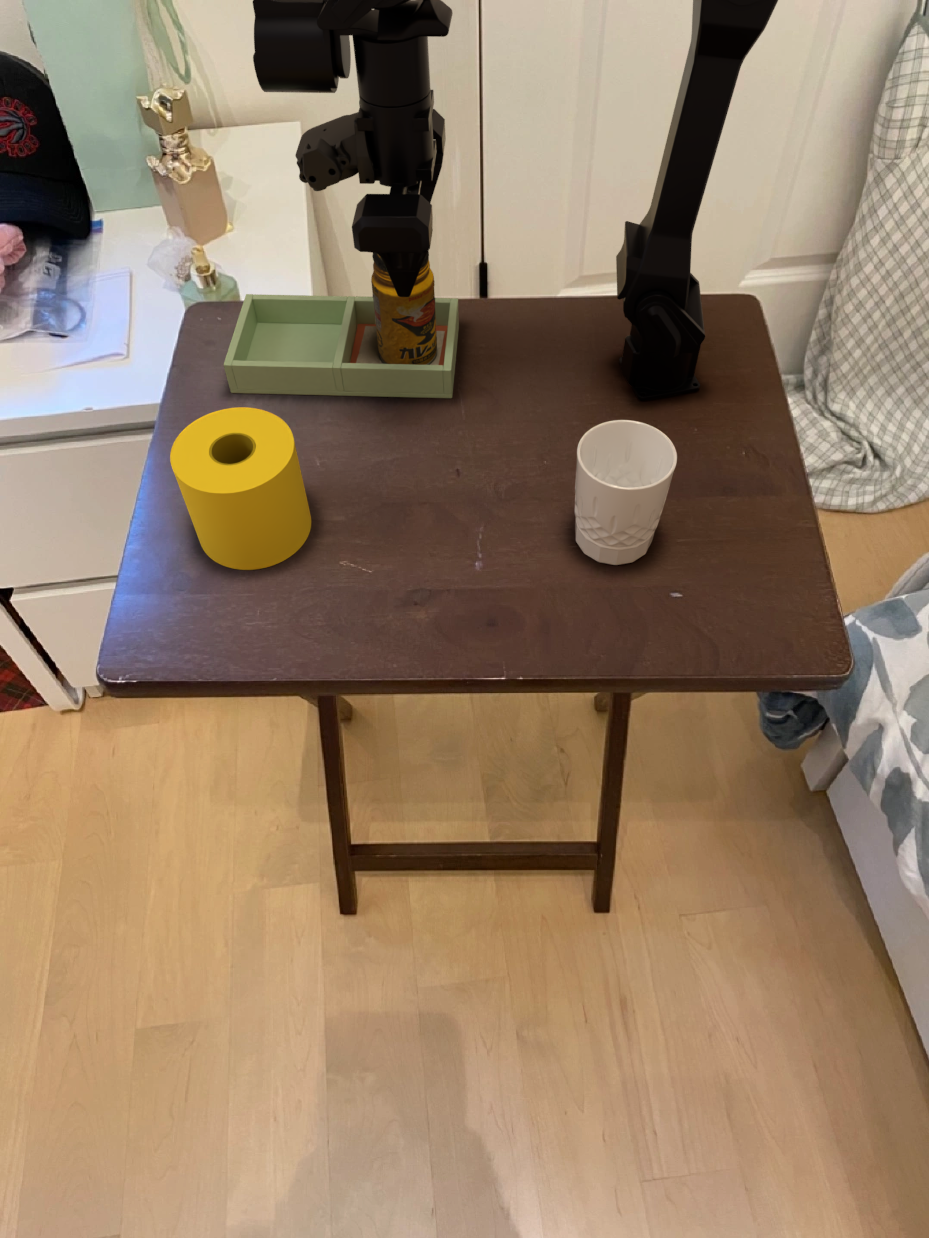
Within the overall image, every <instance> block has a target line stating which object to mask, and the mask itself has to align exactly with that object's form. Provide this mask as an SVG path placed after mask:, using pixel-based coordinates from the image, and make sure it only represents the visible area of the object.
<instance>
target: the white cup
mask: <svg viewBox="0 0 929 1238" xmlns="http://www.w3.org/2000/svg"><path fill="white" fill-rule="evenodd" d="M677 462H678V453H677V449H676V447H675V445H674V443H673V441H672V440H671V439H670V438H669V437H668V435H666V434H665V433H664V432H663V431H661V430H660V429H658V428H656V427H655V426H653V425H651V424H649V423H648V424H647V423H645V422H642V421H637V420H633V419H632V420H630V419H614V420H609V421H605V422H602V423H599V424H596V425H594V426H593V427H591V428H589V429H588V430H587V431H586V432H584V434H583V435H582V436H581V437H580V440H579V442H578V444H577V448H576V465H575V482H574V494H575V495H574V516H575V521H574V533H575V534H574V536H575V542H576V543H577V545H578V547H579V548H580V550H581V551H582V552H583V554H584V555H585V556H587V557H589V558H591V559H592V560H594V561H596V562H597V563H601V564H607V565H613V566H618V565H625V564H630V563H634V562H636V561H637V560H638V559H640V558H641V557H643V556H645V555H646V554H647V552H648V550H649V549H650V546H651V544H652V543H653V539H654V536H655V532H656V530H657V528H658V526H659V522H660V520H661V516H662V513H663V511H664V508H665V504H666V500H667V498H668V494H669V490H670V486H671V484H672V480H673V476H674V473H675V470H676V467H677Z"/></svg>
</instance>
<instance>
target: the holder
mask: <svg viewBox="0 0 929 1238" xmlns="http://www.w3.org/2000/svg"><path fill="white" fill-rule="evenodd" d="M435 311H436V331H445V333H444V338H443V344H442V350H441V355H440V360H439V365H412V364H368V363H356V361H357V358H358V354H359V350H360V347H361V343H362V339H363V335H364V330H365V326H376V324H375V322H376V320H375V310H374V301H373V296H365V295H363V296H361V295H359V296H358V295H356V296H355V295H354V296H353V295H349V296H347V295H299V294H256V293H255V294H254V293H246V294H245V297H244V300H243V303H242V305H241V309H240V312H239V314H238V317H237V318H238V319H237V321H236V324H235V327H234V330H233V331H234V332H233V334H232V337H231V339H230V343H229V346H228V349H227V353H226V355H225V359H224V362H223V366H222V367H223V369H224V372H225V376H226V380H227V383H228V388H229V390H230V393H231V394H260V395H261V394H262V395H299V396H302V395H305V396H339V397H343V396H344V397H346V396H347V397H380V398H381V397H382V398H383V397H384V398H387V397H388V398H421V399H422V398H424V399H427V398H428V399H453V395H454V394H453V393H454V384H455V373H456V363H457V350H458V340H459V331H460V315H459V298H458V297H457V298H456V297H435Z"/></svg>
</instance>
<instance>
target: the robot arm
mask: <svg viewBox="0 0 929 1238" xmlns="http://www.w3.org/2000/svg"><path fill="white" fill-rule="evenodd" d="M778 2H779V0H692V13H691V14H692V15H691V16H692V17H691V37H690V43H689V48H688V51H687V56H686V59H685V63H684V67H683V68H684V69H683V72H682V76H681V80H680V85H679V88H678V93H677V95H676V96H677V97H676V101H675V104H674V109H673V113H672V116H671V121H670V125H669V128H668V133H667V137H666V138H667V139H666V141H665V144H664V146H665V147H664V149H663V154H662V158H661V162H660V166H659V170H658V174H657V178H656V182H655V186H654V190H653V193H652V194H653V195H652V198H651V202H650V206H649V209H648V210H647V213H646V214H645V216H644V217H643V218H642V219H641V221H640V223H639V224H638V223H635V222H632V221H628V220H626V221H624V234H623V236H624V237H623V243H622V245H621V248H620V250H619V251H618V253H617V254H616V255H615V265H616V298H617V300H620V301H621V300H622V311H623V315H624V318H625V319H627V320H628V322H630V324H631V326H630V333H629V335H626V336H625V338H624V342H623V349H622V356H620V357H619V359H618V365H619V366H620V371H621V373H622V375H623V378H624V379H625V381H626V383H627V384H628V385H629V386H630V387H631V389H632V391H633V392H634V395H635V397H636V398H637V399H638V400H639V401H641V402H644V401H650V400H656V399H661V398H666V397H673V396H677V395H682V394H683V395H684V394H689V393H693V392H698V391H699V390H700V388H701V383H700V382H699V380H698V379H697V377H696V375H695V372H696V368H697V364H698V360H699V355H700V351H701V347H702V344H703V342H704V340H705V339H706V330H705V321H704V313H703V303H702V294H701V287H700V286H701V285H700V281H699V280H698V279H697V278H696V277H695V276H694V275H693V273H692V272H691V265H692V247H693V246H692V243H693V242H692V241H693V232H694V229H695V225H696V222H697V220H698V219H697V218H698V215H699V212H700V208H701V205H702V201H703V199H704V194H705V191H706V188H707V184H708V181H709V177H710V175H711V172H712V171H711V170H712V167H713V163H714V160H715V157H716V153H717V150H718V147H719V143H720V139H721V136H722V132H723V129H724V127H725V123H726V119H727V115H728V112H729V109H730V105H731V103H732V99H733V94H734V91H735V87H736V86H737V81H738V78H739V74H740V71H741V67H742V65H743V63H744V61H745V59H746V57H747V56H748V54H749V53H750V51H751V50H752V49H753V47H754V45H755V44H756V43H757V41H758V40H759V38H760V37H761V36H762V34H763V32H764V31H765V30H766V28H767V25H768V23H769V22H770V19H771V17H772V14H773V13H774V10H775V8H776V6H777V4H778ZM252 7H253V13H254V24H253V45H254V47H253V48H254V53H253V55H252V61H253V68H254V70H255V71H254V72H255V76H256V79H257V82H258V85H259V87H260V89H261V90H262V91H263V92H264V93H295V94H296V93H297V94H298V93H299V94H300V93H301V94H303V93H304V94H305V93H307V94H310V93H311V94H335V93H336V92H337V91H338V87H339V81H340V79H345V80H346V79H349V77H350V73H351V65H352V64H351V63H352V62H351V60H352V59H351V56H352V55H351V53H352V52H351V40H350V36H352V43H353V52H354V63H355V71H356V80H357V90H358V96H359V97H358V99H359V101H358V104H359V105H358V106H359V107H358V108H359V109H358V111H357V112H354V113H351V114H346V115H341V116H339V117H336V118H333V119H331V120H329V121H325V122H324V123H320V124H318V125H316V126H313V127H311V128H309V129H307V130H306V131H305V132H303V134H302V135H301V137H300V140H299V142H298V145H297V149H296V152H295V154H294V156H295V159H296V165H297V167H298V169H299V174H298V179H299V180H300V182H301V183H304V184H308V186H309V187H310V188H311V189H313V190H312V191H314V192H321V191H324V190H326V189H327V188H328V187H330V186H334V185H336V184H338V183H340V182H341V181H342V182H343V181H345V180H348V179H350V178H352V177H354V176H356V175H358V179H359V180H358V181H359V184H360V185H361V184H362V185H364V184H365V185H366V184H367V185H373V184H375V183H376V182H378V183H379V185H381V186H383V187H388V188H389V193H366V194H365V195H364V196H363V197H362V199H360V201H358V203H357V204H356V207H355V211H354V216H353V219H352V220H353V221H352V224H351V231H352V232H351V233H352V241H353V247H354V249H355V250H357V251H358V252H359V253H372V254H373V253H377V254H378V255H379V256H380V257H381V259H382V261H383V263H384V265H385V267H386V270H387V272H388V274H389V277H390V279H391V281H392V284H393V286H394V288H395V290H396V293H397V295H398V296H399V297H409V296H410V295H411V292H412V290H413V287H414V285H415V282H416V279H417V277H418V274H419V271H420V269H421V266H422V264H423V261H424V259H425V257H426V254H427V252H428V251H429V252H430V249H431V245H432V238H433V232H434V231H433V229H434V228H433V223H434V221H433V220H434V217H433V205H432V203H431V202H432V199H433V196H434V193H435V189H436V186H437V182H438V180H439V177H440V173H441V170H442V168H443V162H444V155H445V147H446V119H445V118H444V116H442V115H441V114H440V113H439V111H438V110H437V109H435V108H434V104H435V94H434V92H435V91H434V89H431V75H430V74H431V73H430V72H431V71H430V54H429V37H430V38H431V37H432V38H433V37H435V38H444V37H447V36H448V35H449V33H450V28H451V24H452V23H451V22H452V17H453V9H452V8H451V7H450V6H449V5H447V4H446V3H445V2H444V1H443V0H252Z"/></svg>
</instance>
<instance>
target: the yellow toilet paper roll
mask: <svg viewBox="0 0 929 1238" xmlns="http://www.w3.org/2000/svg"><path fill="white" fill-rule="evenodd" d="M169 454H170V455H169V461H170V466H171V469H172V472H173V474H174V476H175V479H176V482H177V484H178V488H179V490H180V493H181V496H182V498H183V500H184V503H185V507H186V509H187V512H188V514H189V516H190V520H191V522H192V525H193V528H194V530H195V533H196V535H197V538H198V541H199V544H200V546H201V549H202V551H204V553H205V554H206V556H208V557H209V558H210V559H211V560H212V561H213V562H215V563H216V564H219V565H221V566H223V567H226V568H229V569H234V570H239V571H253V570H260V569H261V570H262V569H266V568H269V567H272V566H275V565H278V564H280V563H282V562H284V561H286V560H287V559H289V558H291V557H292V556H293V555H294V554H296V553H297V552H298V551H299V550H300V549H301V548H302V547H303V545H304V544H305V542H306V541H307V539H308V538H309V535H310V532H311V529H312V515H311V511H310V506H309V501H308V497H307V492H306V488H305V484H304V479H303V473H302V470H301V466H300V460H299V456H298V452H297V448H296V442H295V437H294V434H293V432H292V430H291V428H290V427H289V425H288V423H287V422H285V420H284V419H282V418H281V417H280V416H278V415H276V414H274V413H272V412H270V411H267V410H264V409H261V408H255V407H247V406H246V407H244V406H243V407H242V406H241V407H238V406H237V407H229V408H223V409H219V410H215V411H213V412H210V413H207V414H204V415H203V416H200V417H198V418H196V419H195V420H193V421H192V422H191V423H189V424H188V425H187V426H186V427H185V428H184V429H183V430H181V432H180V433H179V434H178V435H177V437H176V438H175V439H174V441H173V443H172V446H171V449H170V453H169Z"/></svg>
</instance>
